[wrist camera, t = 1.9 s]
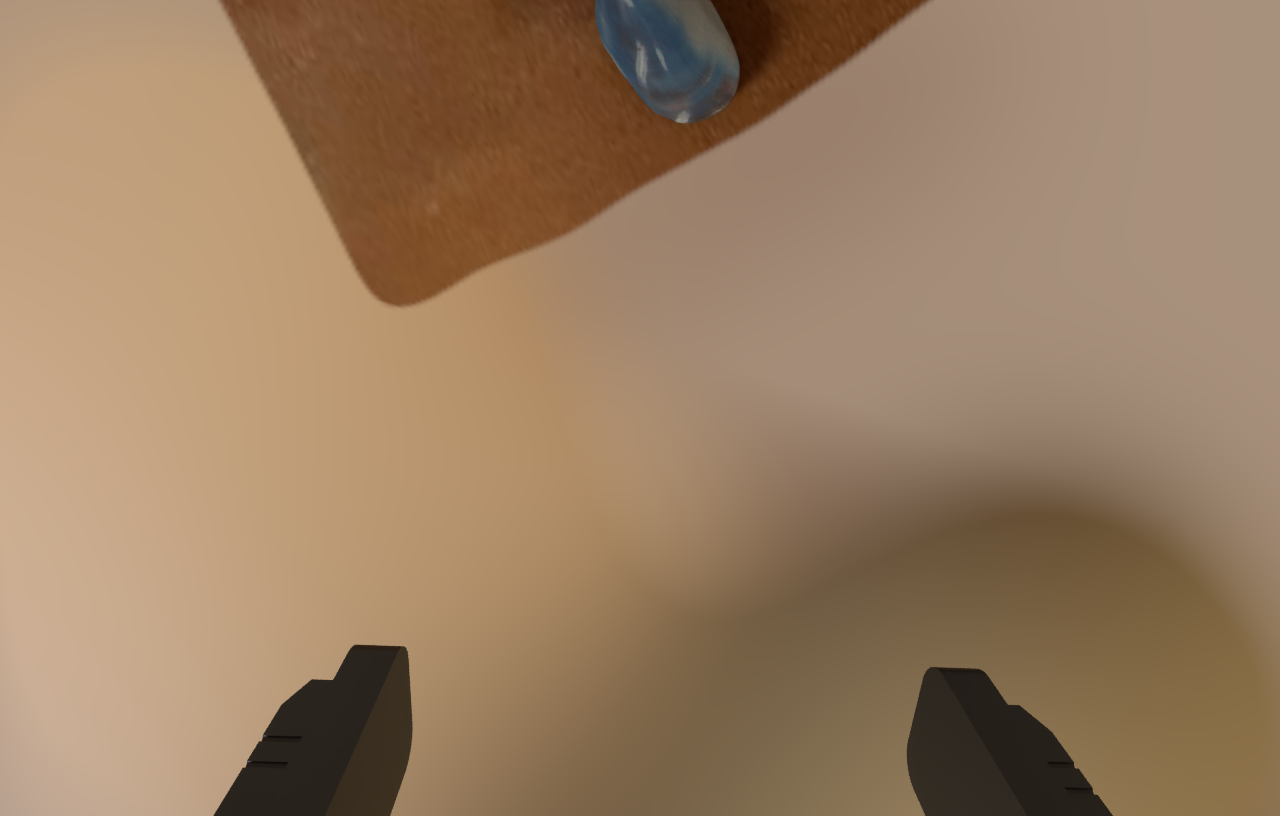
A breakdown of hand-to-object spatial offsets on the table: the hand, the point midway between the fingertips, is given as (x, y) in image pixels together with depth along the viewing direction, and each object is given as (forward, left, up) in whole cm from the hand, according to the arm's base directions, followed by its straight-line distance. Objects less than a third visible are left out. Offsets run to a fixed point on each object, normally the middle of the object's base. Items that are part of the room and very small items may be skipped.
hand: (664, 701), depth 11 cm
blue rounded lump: (-9, -12, -38) cm, 41 cm away
